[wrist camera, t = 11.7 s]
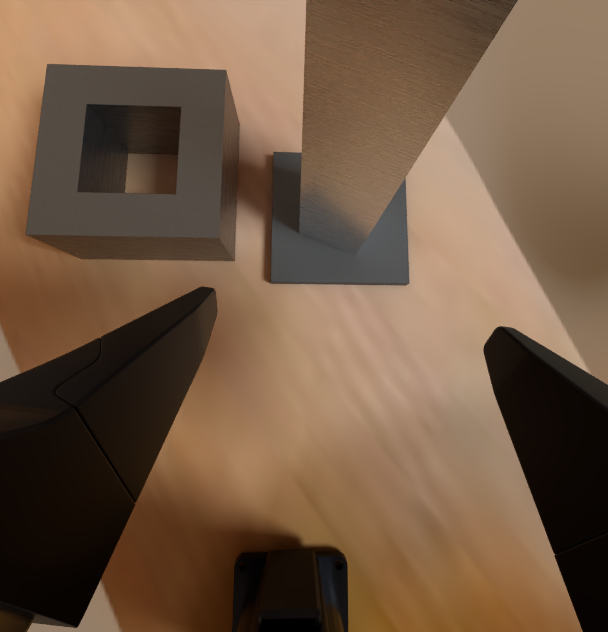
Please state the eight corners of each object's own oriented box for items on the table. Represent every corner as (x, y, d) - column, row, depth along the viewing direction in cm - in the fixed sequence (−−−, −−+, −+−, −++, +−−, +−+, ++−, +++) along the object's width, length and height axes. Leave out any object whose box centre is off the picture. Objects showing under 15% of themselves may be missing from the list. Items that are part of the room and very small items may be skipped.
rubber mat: (405, 285, 19) (409, 283, 19) (271, 283, 19) (270, 281, 19) (401, 161, 21) (404, 155, 20) (274, 157, 20) (273, 151, 20)
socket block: (234, 261, 19) (218, 238, 15) (81, 258, 19) (25, 234, 15) (239, 124, 21) (226, 70, 17) (95, 120, 20) (47, 64, 16)
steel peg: (355, 255, 19) (519, -3, 5) (299, 233, 19) (308, -81, 5) (376, 202, 19) (576, -166, 6) (321, 181, 20) (383, -236, 6)
